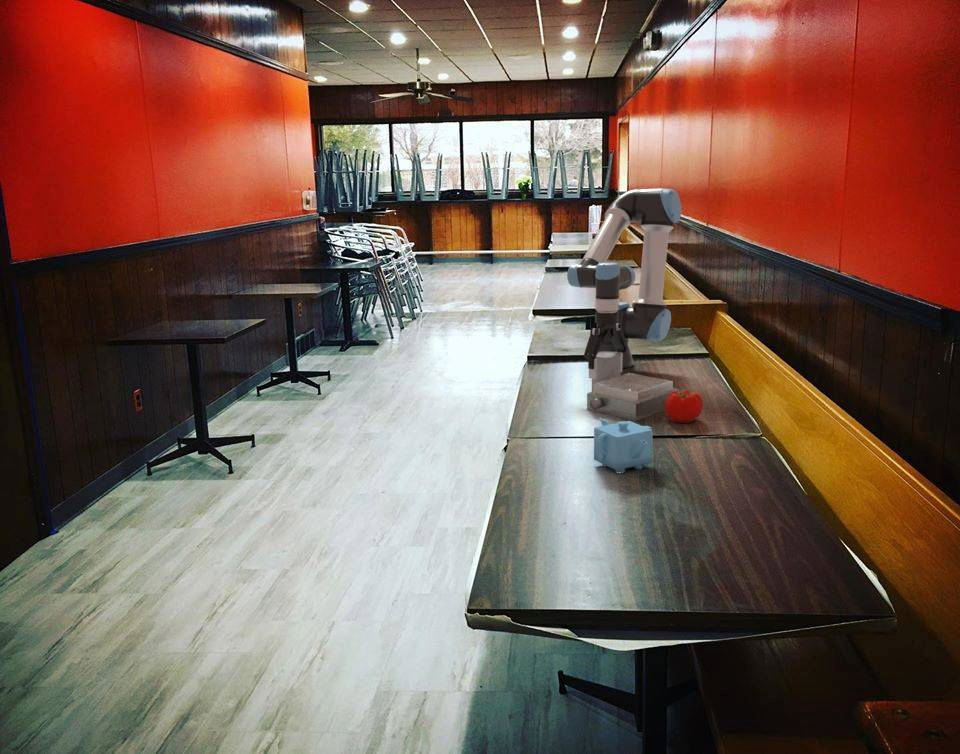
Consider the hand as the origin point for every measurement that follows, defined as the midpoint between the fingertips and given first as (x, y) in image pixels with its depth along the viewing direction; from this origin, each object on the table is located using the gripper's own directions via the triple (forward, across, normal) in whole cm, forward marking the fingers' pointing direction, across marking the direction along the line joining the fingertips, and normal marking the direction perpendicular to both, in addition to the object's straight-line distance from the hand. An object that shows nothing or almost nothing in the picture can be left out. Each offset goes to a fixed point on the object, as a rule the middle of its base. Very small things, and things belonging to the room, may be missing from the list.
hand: (605, 375), depth 263 cm
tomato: (+6, +12, +37) cm, 39 cm away
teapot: (+7, +52, +46) cm, 70 cm away
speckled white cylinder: (+6, 0, 0) cm, 6 cm away
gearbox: (+6, +11, +18) cm, 22 cm away
